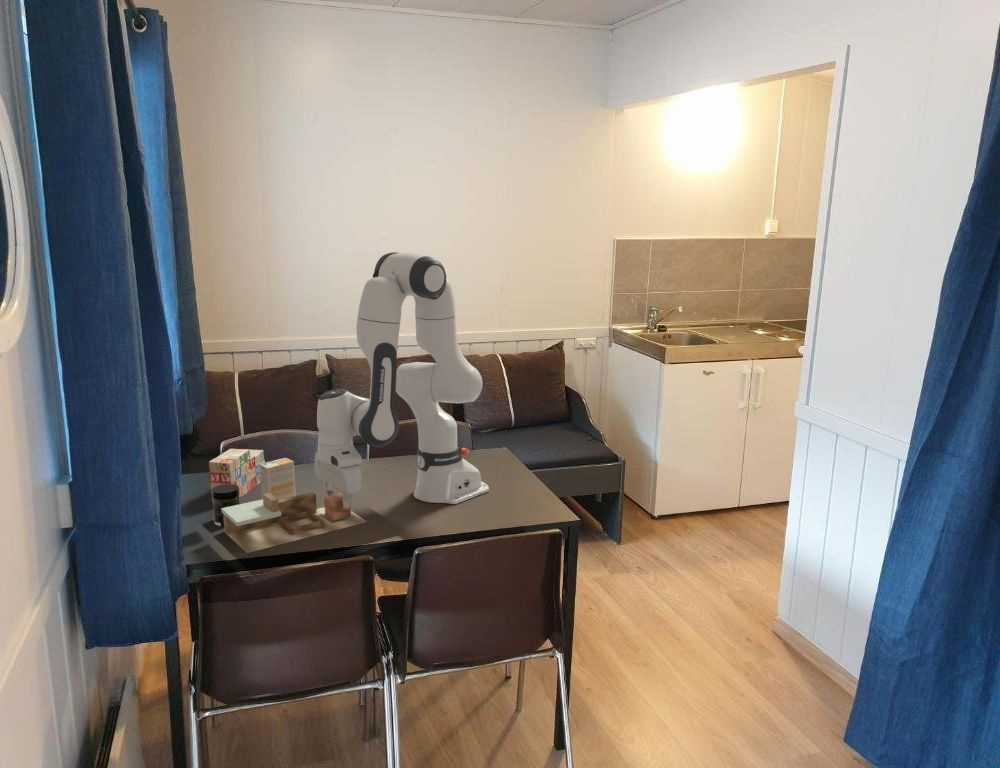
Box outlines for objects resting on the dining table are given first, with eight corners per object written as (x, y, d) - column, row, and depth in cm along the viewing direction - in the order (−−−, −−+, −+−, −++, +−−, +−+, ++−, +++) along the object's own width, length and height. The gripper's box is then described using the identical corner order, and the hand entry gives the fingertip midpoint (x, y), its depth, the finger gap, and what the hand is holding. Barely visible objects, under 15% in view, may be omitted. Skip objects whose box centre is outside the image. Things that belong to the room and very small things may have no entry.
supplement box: (288, 501, 221) (285, 457, 219) (296, 505, 218) (294, 461, 215) (261, 508, 216) (258, 463, 213) (269, 513, 212) (267, 467, 210)
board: (339, 508, 216) (338, 485, 215) (367, 527, 204) (367, 502, 203) (224, 536, 197) (222, 511, 196) (247, 558, 185) (245, 532, 183)
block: (342, 510, 211) (341, 492, 209) (350, 516, 207) (350, 498, 206) (325, 514, 208) (324, 496, 206) (333, 520, 204) (333, 502, 203)
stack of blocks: (247, 477, 240) (244, 439, 238) (266, 479, 239) (264, 440, 237) (211, 502, 220) (208, 461, 217) (232, 504, 219) (229, 462, 216)
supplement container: (247, 524, 205) (244, 486, 203) (228, 533, 199) (225, 494, 197) (227, 519, 208) (225, 482, 206) (208, 528, 202) (205, 490, 200)
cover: (264, 502, 201) (263, 487, 200) (281, 515, 193) (280, 500, 192) (221, 512, 194) (220, 497, 194) (237, 526, 186) (236, 510, 185)
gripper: (307, 444, 209) (309, 492, 212) (342, 463, 194) (344, 516, 197) (329, 440, 213) (330, 487, 216) (365, 459, 197) (366, 510, 200)
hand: (337, 501), depth 206 cm, fingers open, 8 cm apart
